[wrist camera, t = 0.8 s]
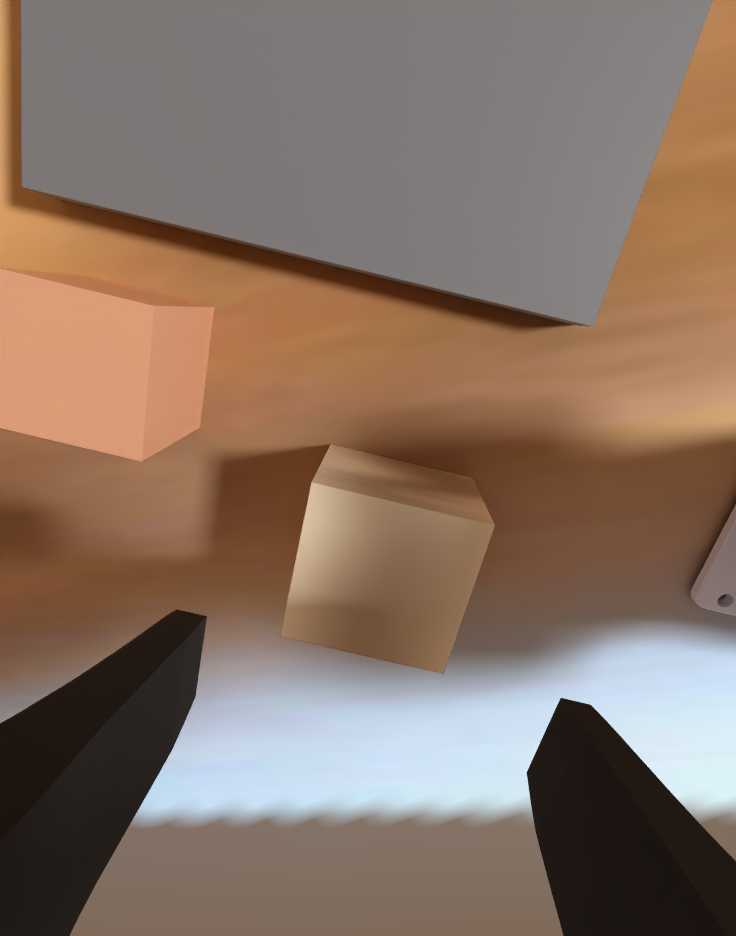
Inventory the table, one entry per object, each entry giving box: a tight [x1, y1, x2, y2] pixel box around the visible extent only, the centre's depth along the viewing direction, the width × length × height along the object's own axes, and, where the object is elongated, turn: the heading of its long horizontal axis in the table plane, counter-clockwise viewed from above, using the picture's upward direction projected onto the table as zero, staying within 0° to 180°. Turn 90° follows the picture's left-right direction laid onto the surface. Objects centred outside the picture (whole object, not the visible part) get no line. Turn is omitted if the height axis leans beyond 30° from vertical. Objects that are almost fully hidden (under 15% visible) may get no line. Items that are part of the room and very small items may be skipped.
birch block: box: [280, 444, 495, 674], centre depth 15 cm, size 5×5×4 cm
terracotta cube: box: [0, 267, 214, 461], centre depth 14 cm, size 4×4×4 cm
